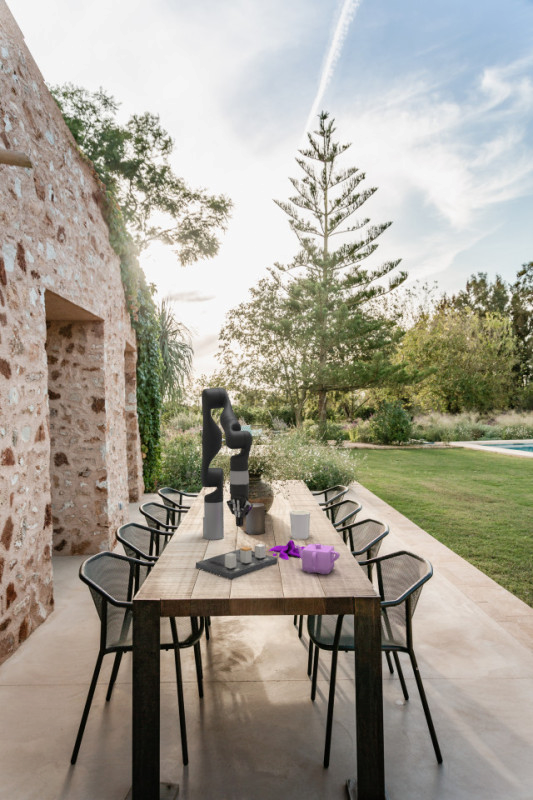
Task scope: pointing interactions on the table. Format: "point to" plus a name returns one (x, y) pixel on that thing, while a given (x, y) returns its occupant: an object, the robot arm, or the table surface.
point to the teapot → (318, 558)
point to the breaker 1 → (230, 560)
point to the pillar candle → (256, 519)
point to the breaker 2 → (260, 551)
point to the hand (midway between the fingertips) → (239, 526)
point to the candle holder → (300, 524)
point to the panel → (218, 565)
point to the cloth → (286, 550)
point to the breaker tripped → (246, 554)
